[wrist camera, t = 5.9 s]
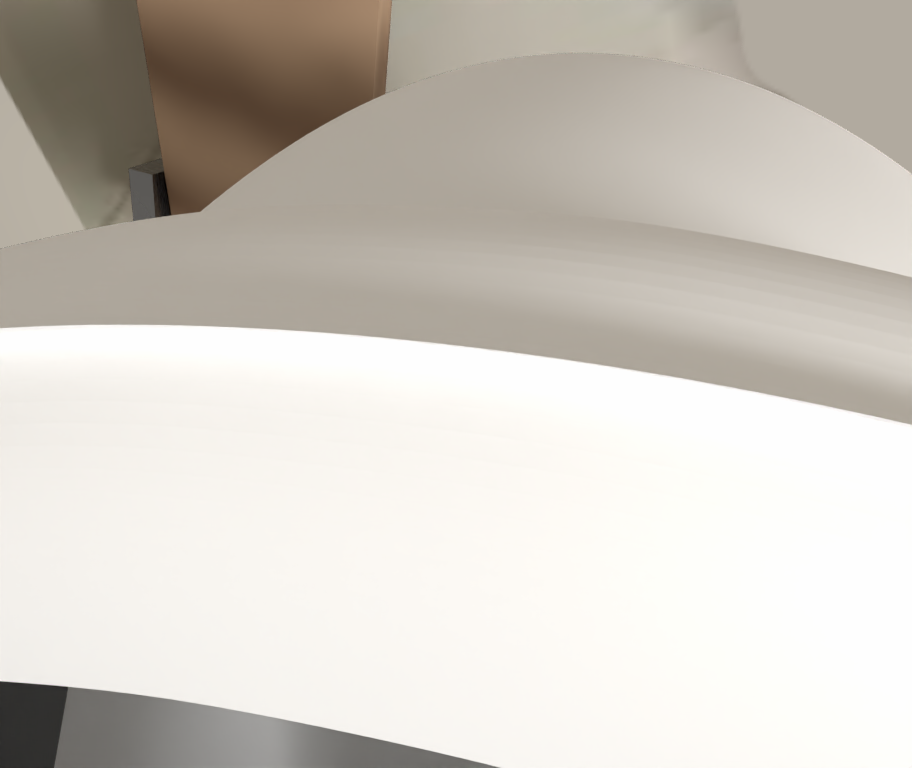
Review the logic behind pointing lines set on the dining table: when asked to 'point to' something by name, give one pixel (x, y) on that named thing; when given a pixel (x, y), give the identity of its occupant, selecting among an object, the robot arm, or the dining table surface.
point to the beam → (253, 81)
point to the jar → (478, 442)
